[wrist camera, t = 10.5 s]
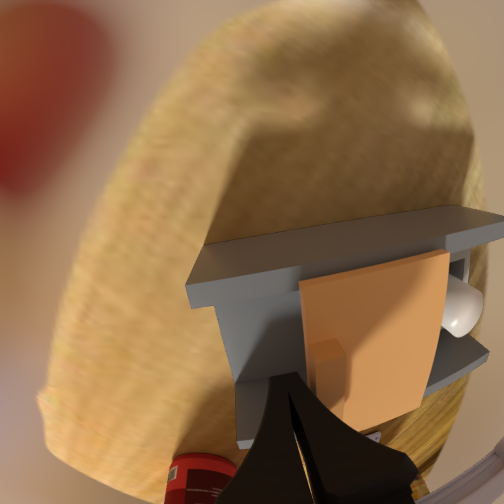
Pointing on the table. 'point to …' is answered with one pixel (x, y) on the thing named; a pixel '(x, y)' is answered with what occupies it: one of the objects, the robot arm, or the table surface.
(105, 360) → the table surface
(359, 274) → the lid
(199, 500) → the canned food
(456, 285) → the white rounded piece
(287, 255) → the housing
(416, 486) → the sauce bottle
